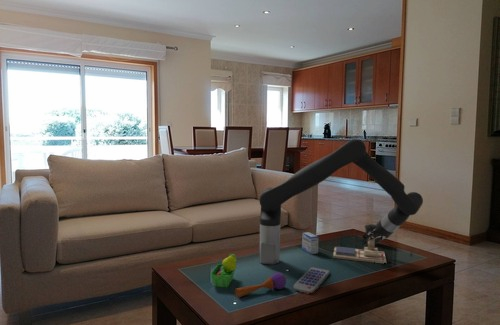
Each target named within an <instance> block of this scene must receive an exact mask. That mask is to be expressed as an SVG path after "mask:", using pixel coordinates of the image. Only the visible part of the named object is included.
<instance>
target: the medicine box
mask: <svg viewBox="0 0 500 325" xmlns="http://www.w3.org/2000/svg"><path fill="white" fill-rule="evenodd" d="M301 238H302V239H301V243H302V244H301V250H302V251H304V252H306V253H308V254H310V255H316V254H318V253H319V236H318V235H316V234H314V233H311V232H310V231H309V232H308V231H307V232H302V237H301Z"/></svg>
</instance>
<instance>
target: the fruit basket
mask: <svg viewBox="0 0 500 325" xmlns="http://www.w3.org/2000/svg"><path fill="white" fill-rule="evenodd" d="M237 261H238V260H237V256H236V255H235V254H234V253H233V254H229V255H228V257H226V258H224V259H223V260H222V262H221V263H219V264H217V265H216V266H215V268H214V269H213V271H212V272H211V273H210V276H211V278H212V282H213V285H214V287H219V288H228V287H229V286H230V283H231V282H232V281H233V279H234V274H235V271H236V268H237Z"/></svg>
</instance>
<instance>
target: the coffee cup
mask: <svg viewBox="0 0 500 325" xmlns="http://www.w3.org/2000/svg"><path fill="white" fill-rule="evenodd" d="M364 228H365V229H364V230H365V233H366V232H367V231H368V230H370V231H371V232H372V231H373V230H374V229H376V224H372V223H371V224H366V225H364ZM372 237H374V236H373V235H372ZM366 244H367V245H368V242H367V243H366ZM377 245H378V243H377V242H376V240H375V246H377Z"/></svg>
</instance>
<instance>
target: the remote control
mask: <svg viewBox="0 0 500 325" xmlns="http://www.w3.org/2000/svg"><path fill="white" fill-rule="evenodd" d="M330 272H331V271H330V270H329V269H328V270H327V269H322V268H318V267H312V266H311V267H310V268H309V269H308V270H307V271H306V272H305V273H303V275H301V277H300V278H299V279H297V281H296V282H295V283H294V284H293V291H294V290H295V291H294V292H297V291H300V292H299V293H301V292H312V291H314V290H315V289H316V288H317V287H318V286H319V285H320V284H321V285H322V283H324V281H325V280H326V279H327V277H328V276H330ZM321 285H320V286H321ZM320 286H319V287H320ZM319 287H318V288H319ZM318 288H317V289H318Z"/></svg>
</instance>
